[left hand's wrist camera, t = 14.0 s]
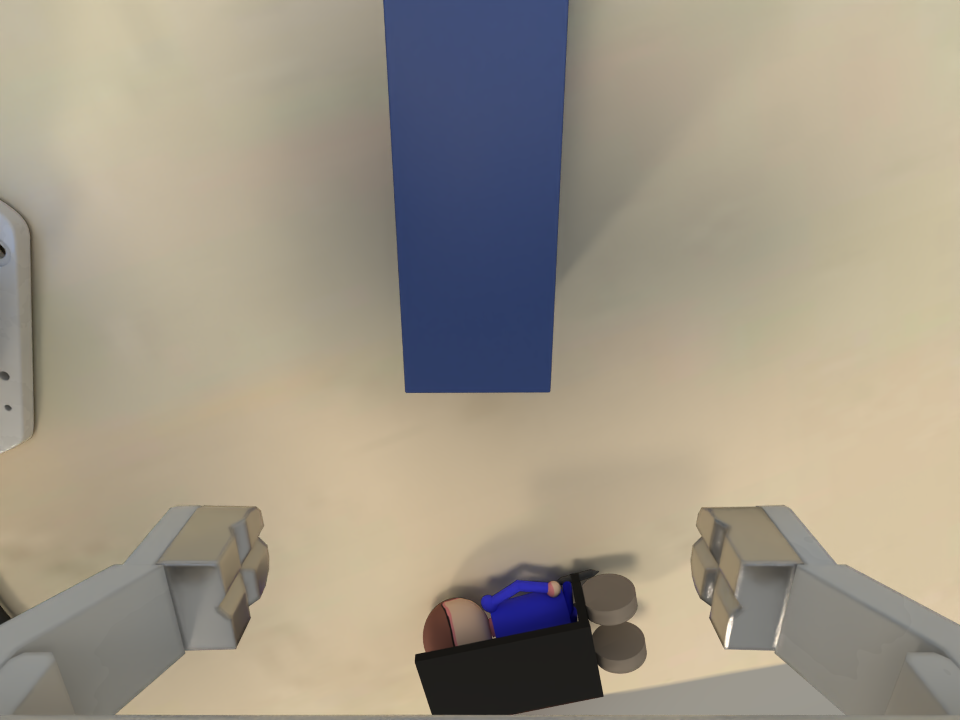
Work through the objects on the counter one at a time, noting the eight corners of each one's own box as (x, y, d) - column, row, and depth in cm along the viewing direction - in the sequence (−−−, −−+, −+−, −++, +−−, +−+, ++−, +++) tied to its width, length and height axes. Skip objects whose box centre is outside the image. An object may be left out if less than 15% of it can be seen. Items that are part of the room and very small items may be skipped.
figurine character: (609, 530, 42) (411, 584, 42) (649, 607, 35) (411, 672, 35) (622, 599, 44) (434, 650, 44) (662, 684, 37) (439, 746, 37)
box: (530, 318, 35) (550, 393, 25) (426, 318, 35) (405, 393, 25) (544, -157, 26) (584, -332, 16) (407, -157, 26) (364, -331, 16)
